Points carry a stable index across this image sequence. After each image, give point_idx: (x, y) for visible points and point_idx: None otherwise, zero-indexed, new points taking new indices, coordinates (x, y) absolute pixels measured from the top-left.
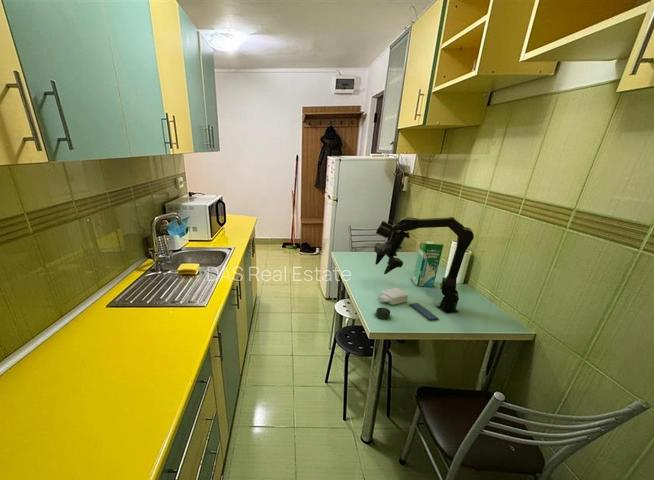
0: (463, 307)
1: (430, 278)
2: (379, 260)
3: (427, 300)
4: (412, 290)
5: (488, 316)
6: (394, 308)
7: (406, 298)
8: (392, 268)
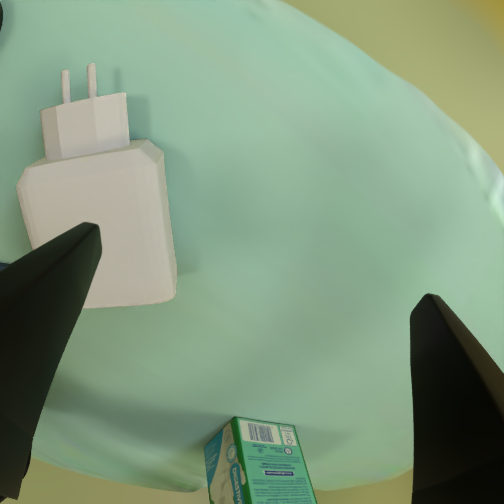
0: None
1: (215, 472)
2: (428, 390)
3: (85, 373)
4: (200, 384)
5: None
6: (15, 153)
7: None
8: None
